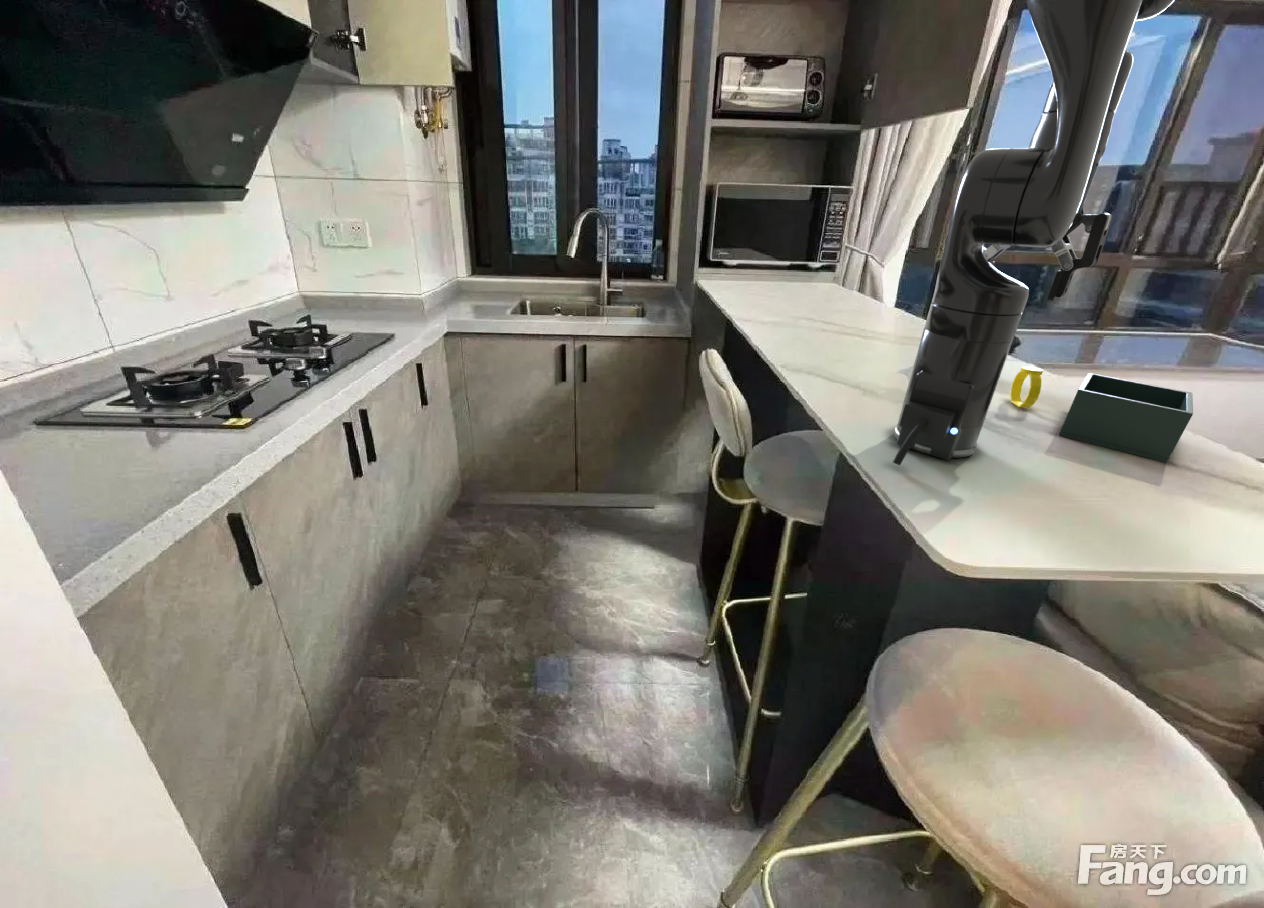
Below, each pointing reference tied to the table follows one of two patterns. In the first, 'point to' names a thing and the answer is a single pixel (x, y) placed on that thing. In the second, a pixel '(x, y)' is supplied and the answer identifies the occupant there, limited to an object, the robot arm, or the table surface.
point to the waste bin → (1128, 416)
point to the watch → (1034, 386)
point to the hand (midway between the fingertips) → (1015, 295)
